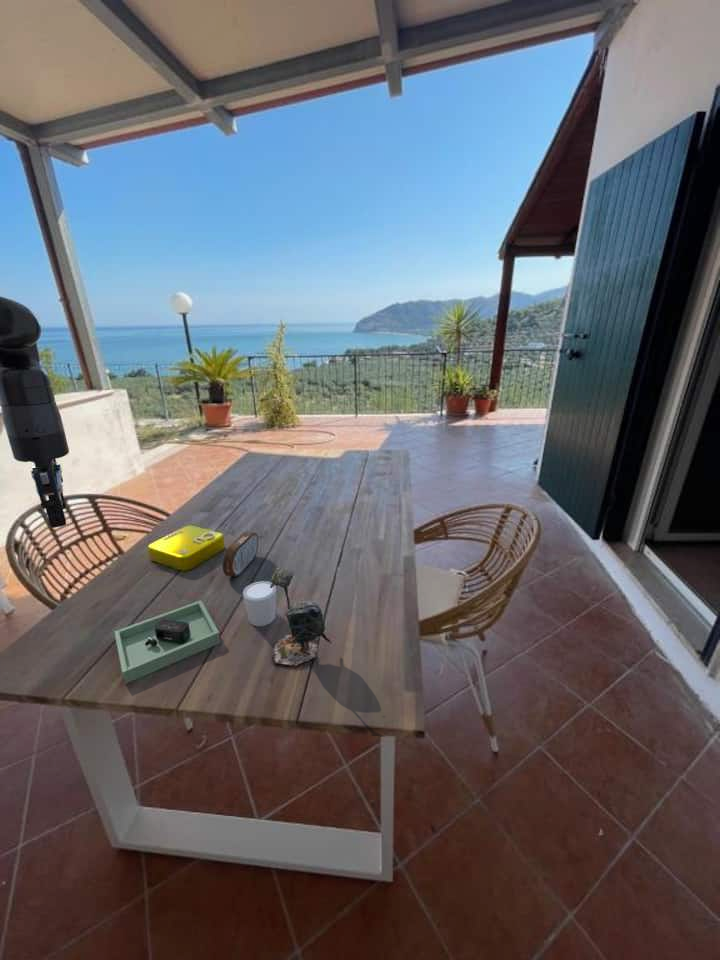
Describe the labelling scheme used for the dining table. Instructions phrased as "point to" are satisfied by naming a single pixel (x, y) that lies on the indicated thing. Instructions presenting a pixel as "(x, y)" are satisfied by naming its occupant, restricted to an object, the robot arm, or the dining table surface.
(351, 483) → the dining table surface
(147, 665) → the pale tray
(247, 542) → the brown digital clock
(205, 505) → the dining table surface
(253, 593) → the white cylinder
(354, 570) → the dining table surface
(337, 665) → the dining table surface
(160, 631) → the wireless earbuds
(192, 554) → the element tile
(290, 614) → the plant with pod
